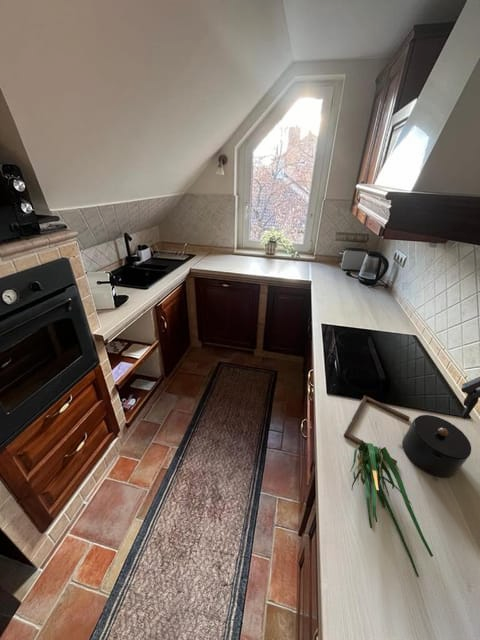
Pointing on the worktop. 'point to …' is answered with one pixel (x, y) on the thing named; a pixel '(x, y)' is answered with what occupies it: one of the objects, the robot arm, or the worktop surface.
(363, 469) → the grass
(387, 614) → the worktop surface
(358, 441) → the brown bent strip
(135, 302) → the worktop surface
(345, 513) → the worktop surface
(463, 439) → the pot
